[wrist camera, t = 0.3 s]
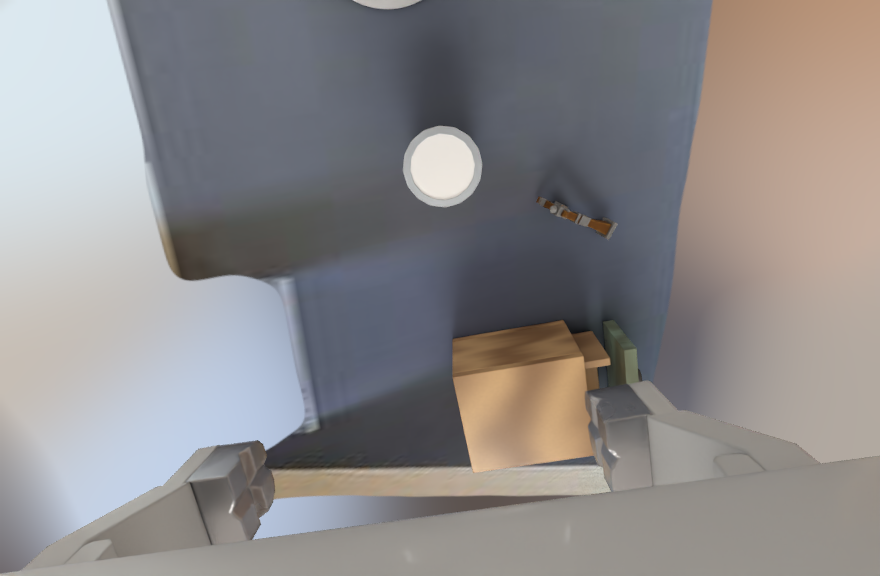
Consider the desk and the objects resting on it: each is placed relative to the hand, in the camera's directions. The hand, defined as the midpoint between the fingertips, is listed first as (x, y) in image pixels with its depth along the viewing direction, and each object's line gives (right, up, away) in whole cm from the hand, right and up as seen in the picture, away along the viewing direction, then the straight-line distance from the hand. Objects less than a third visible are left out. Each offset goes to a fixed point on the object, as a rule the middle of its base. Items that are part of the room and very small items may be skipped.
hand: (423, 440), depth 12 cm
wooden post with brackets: (+14, +11, +37) cm, 41 cm away
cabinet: (+9, -6, +43) cm, 45 cm away
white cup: (+1, +16, +36) cm, 39 cm away
